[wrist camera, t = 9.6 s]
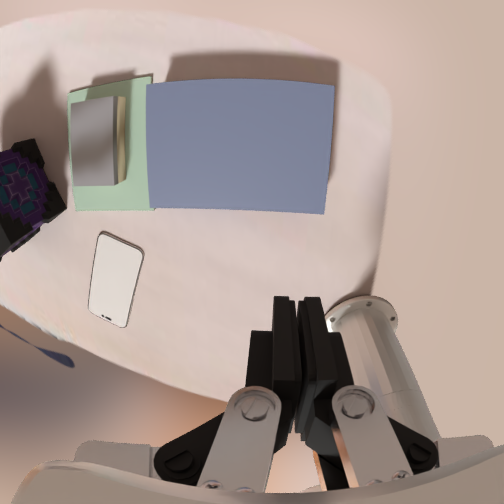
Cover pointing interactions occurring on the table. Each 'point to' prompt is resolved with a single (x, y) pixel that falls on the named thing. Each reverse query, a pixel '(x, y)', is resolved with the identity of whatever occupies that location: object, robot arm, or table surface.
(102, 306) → the smartphone
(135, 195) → the mat
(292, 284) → the table surface
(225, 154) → the textbook
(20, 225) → the energy cube
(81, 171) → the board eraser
